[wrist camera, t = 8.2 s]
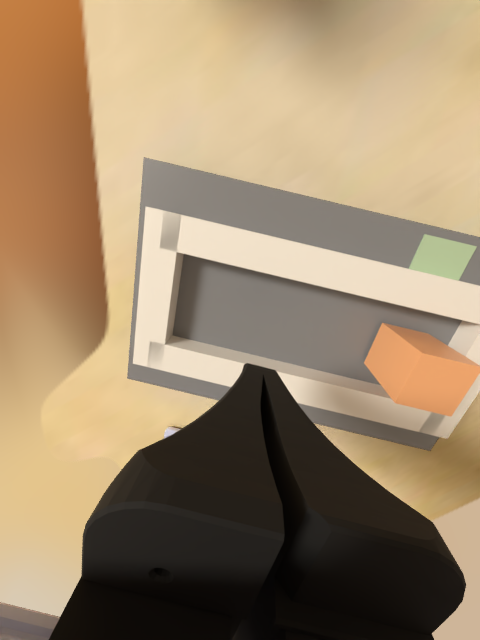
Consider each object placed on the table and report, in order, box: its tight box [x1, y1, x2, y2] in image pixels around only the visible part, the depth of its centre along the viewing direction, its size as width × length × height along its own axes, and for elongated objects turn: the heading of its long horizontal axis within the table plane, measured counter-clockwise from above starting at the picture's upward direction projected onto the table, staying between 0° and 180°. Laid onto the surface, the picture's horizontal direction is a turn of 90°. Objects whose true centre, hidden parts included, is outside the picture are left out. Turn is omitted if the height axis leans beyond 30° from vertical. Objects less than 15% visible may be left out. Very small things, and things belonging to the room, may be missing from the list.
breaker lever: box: [364, 323, 480, 417], centre depth 14 cm, size 3×3×4 cm
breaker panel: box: [127, 157, 480, 451], centre depth 17 cm, size 15×24×4 cm, turn 77°
